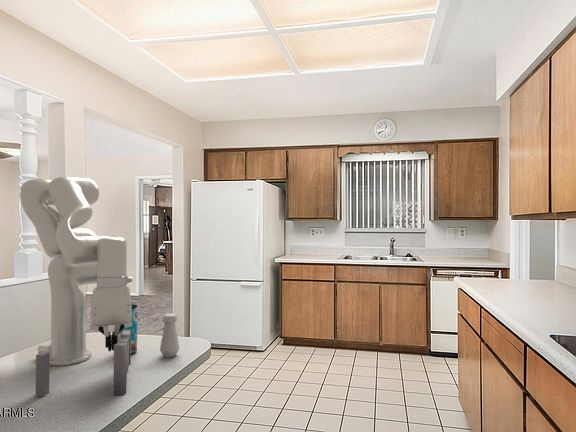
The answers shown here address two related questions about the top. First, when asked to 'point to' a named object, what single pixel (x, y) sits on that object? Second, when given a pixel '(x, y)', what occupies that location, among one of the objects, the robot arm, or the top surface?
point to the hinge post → (120, 369)
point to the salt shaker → (169, 337)
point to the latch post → (42, 374)
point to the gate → (127, 339)
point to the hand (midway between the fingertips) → (111, 349)
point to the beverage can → (132, 330)
